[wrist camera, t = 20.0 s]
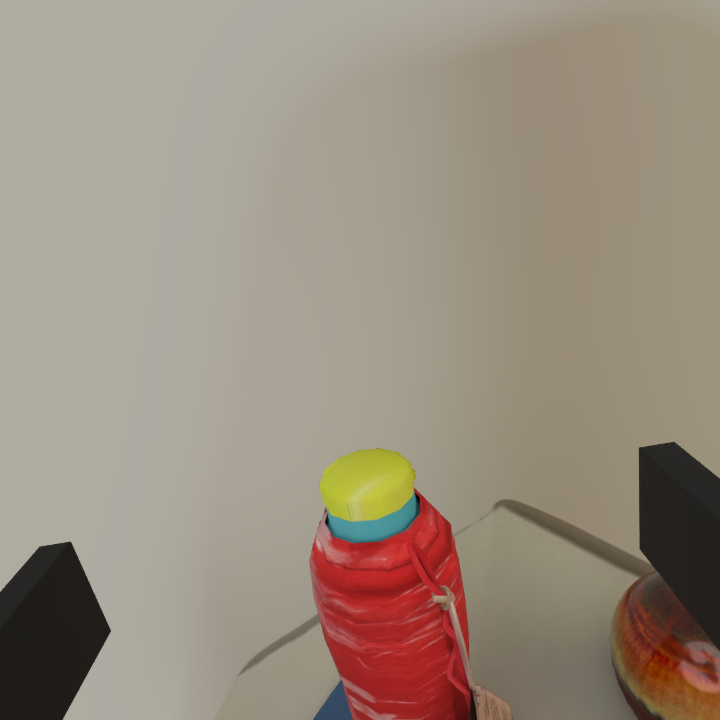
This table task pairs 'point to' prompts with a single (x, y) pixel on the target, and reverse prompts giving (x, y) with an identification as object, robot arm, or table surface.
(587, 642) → the table surface
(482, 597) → the table surface
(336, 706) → the blue mat
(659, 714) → the vase
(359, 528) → the water bottle
